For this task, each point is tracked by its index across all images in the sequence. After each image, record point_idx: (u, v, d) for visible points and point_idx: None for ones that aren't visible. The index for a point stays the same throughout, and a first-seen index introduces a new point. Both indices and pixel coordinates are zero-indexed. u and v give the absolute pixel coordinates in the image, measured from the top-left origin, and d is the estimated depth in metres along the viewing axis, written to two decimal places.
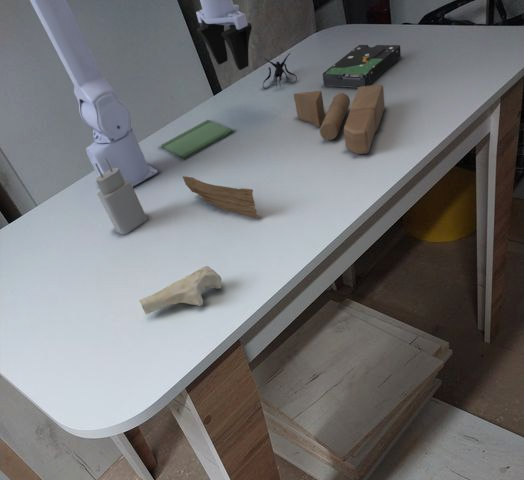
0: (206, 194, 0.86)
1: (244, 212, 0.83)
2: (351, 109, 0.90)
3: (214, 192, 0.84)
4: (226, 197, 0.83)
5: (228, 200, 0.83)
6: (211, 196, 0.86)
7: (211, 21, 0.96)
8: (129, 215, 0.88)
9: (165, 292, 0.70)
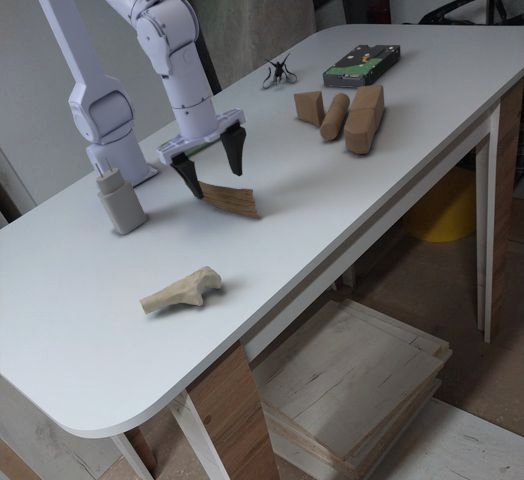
0: (206, 194, 0.86)
1: (244, 212, 0.83)
2: (351, 109, 0.90)
3: (214, 192, 0.84)
4: (227, 197, 0.83)
5: (228, 200, 0.84)
6: (211, 196, 0.86)
7: None
8: (129, 215, 0.88)
9: (165, 292, 0.70)
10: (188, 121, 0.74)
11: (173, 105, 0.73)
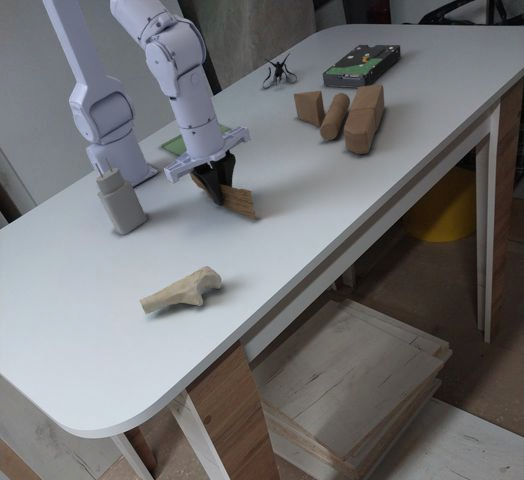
0: None
1: (243, 212, 0.83)
2: (351, 109, 0.90)
3: None
4: (228, 196, 0.84)
5: (229, 199, 0.84)
6: None
7: None
8: (129, 215, 0.88)
9: (165, 292, 0.70)
10: (194, 141, 0.76)
11: (180, 125, 0.75)
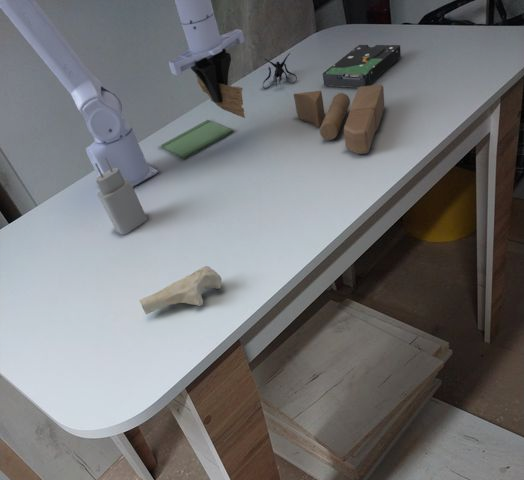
0: None
1: (235, 111, 0.94)
2: (351, 109, 0.90)
3: None
4: (224, 95, 0.95)
5: (225, 98, 0.95)
6: None
7: None
8: (129, 215, 0.88)
9: (165, 292, 0.70)
10: (195, 35, 0.87)
11: (197, 19, 0.85)
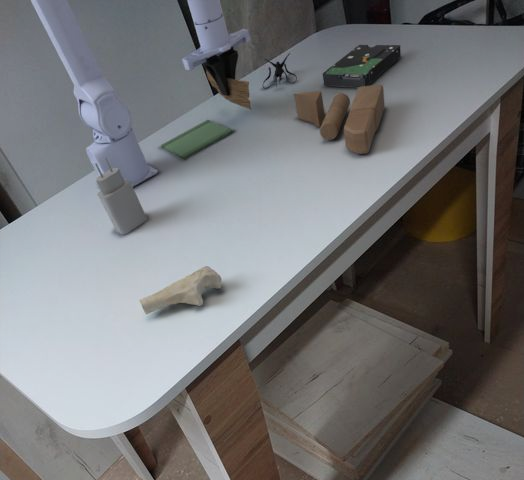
0: None
1: (242, 103, 1.04)
2: (351, 109, 0.90)
3: None
4: (232, 89, 1.05)
5: (233, 91, 1.05)
6: None
7: None
8: (129, 215, 0.88)
9: (165, 292, 0.70)
10: (206, 35, 0.97)
11: (214, 17, 0.95)
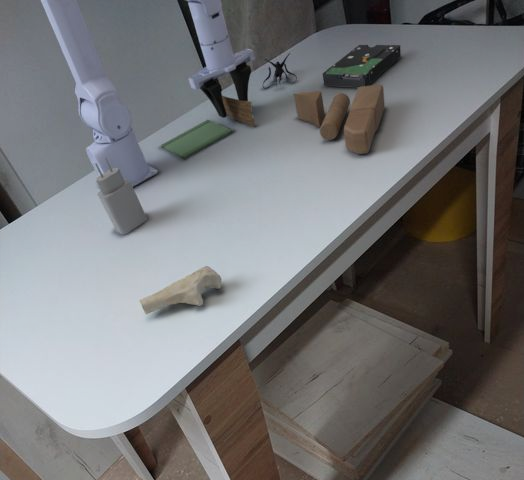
0: None
1: (247, 121, 1.07)
2: (351, 109, 0.90)
3: (228, 103, 1.08)
4: (236, 108, 1.07)
5: (237, 110, 1.07)
6: (226, 107, 1.10)
7: None
8: (129, 215, 0.88)
9: (165, 292, 0.70)
10: (212, 55, 0.99)
11: (220, 39, 0.98)
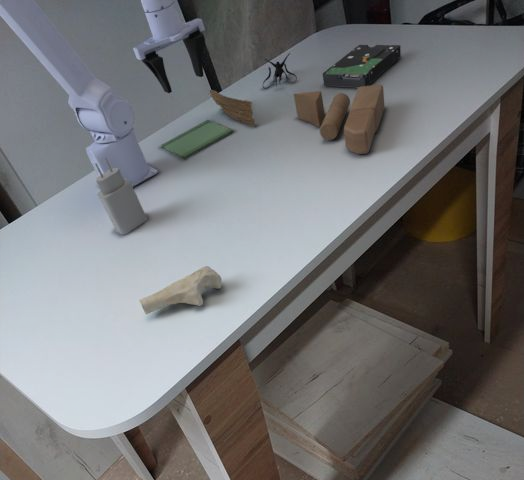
0: (223, 105, 1.10)
1: (247, 121, 1.07)
2: (351, 109, 0.90)
3: (228, 103, 1.08)
4: (236, 108, 1.07)
5: (237, 110, 1.07)
6: (226, 107, 1.10)
7: None
8: (129, 215, 0.88)
9: (165, 292, 0.70)
10: (157, 23, 0.95)
11: (167, 4, 0.94)
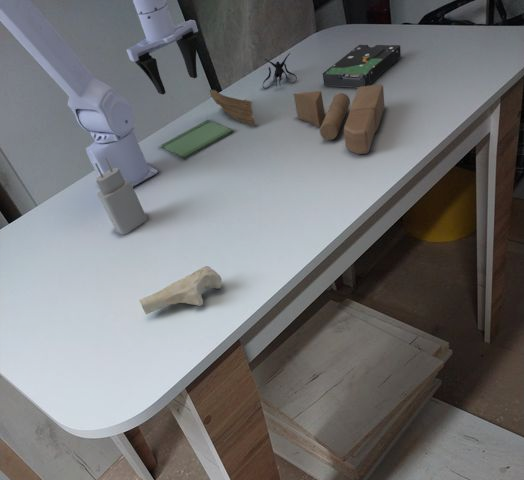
0: (223, 105, 1.10)
1: (246, 121, 1.07)
2: (351, 109, 0.90)
3: (227, 103, 1.08)
4: (236, 108, 1.07)
5: (237, 110, 1.07)
6: (226, 106, 1.10)
7: None
8: (129, 215, 0.88)
9: (165, 292, 0.70)
10: (150, 25, 0.95)
11: (160, 5, 0.94)
